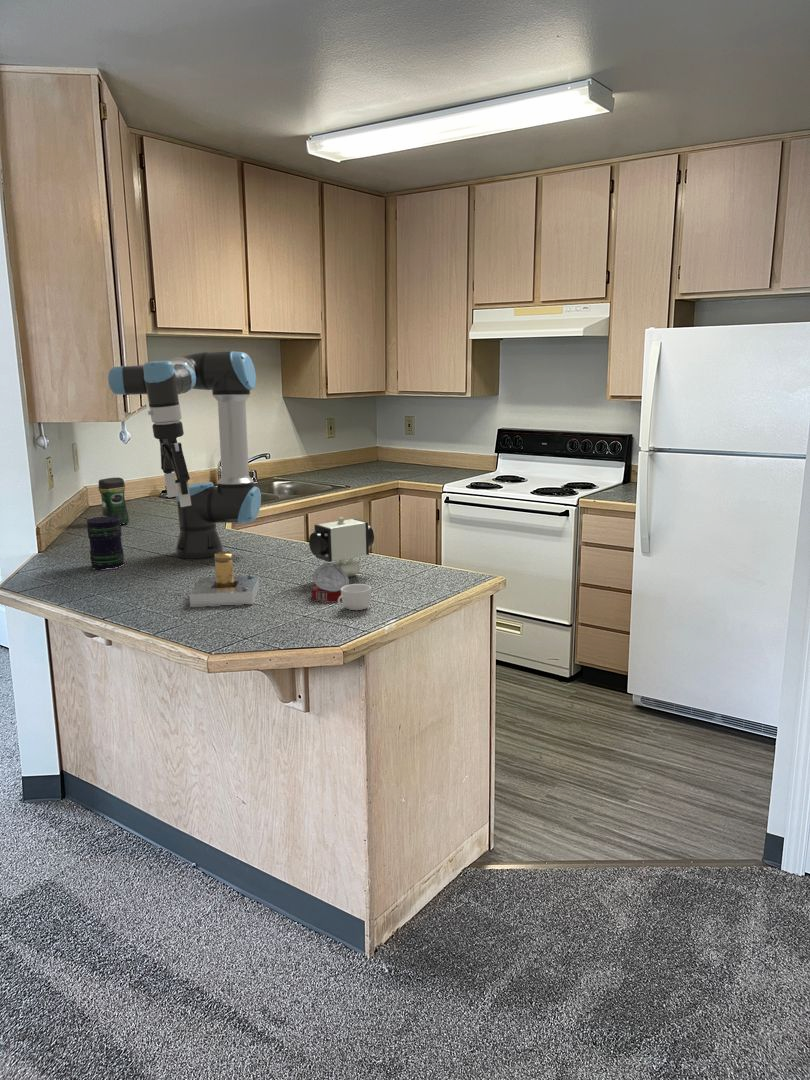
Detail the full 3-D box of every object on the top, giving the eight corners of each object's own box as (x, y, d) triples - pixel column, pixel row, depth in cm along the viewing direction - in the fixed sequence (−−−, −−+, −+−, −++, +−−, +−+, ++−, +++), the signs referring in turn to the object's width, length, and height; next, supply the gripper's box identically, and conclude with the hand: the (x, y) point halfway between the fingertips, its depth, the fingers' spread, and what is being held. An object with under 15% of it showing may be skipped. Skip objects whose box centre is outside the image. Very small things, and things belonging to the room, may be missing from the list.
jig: (201, 589, 222) (200, 575, 221) (259, 587, 223) (258, 573, 222) (190, 607, 206) (189, 592, 206) (252, 604, 208) (252, 589, 207)
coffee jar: (123, 521, 320) (118, 475, 316) (131, 524, 314) (127, 477, 310) (99, 525, 314) (94, 478, 310) (107, 528, 308) (102, 480, 304)
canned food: (345, 609, 218) (362, 577, 216) (334, 616, 209) (351, 584, 207) (310, 588, 220) (326, 557, 218) (297, 594, 210) (314, 562, 208)
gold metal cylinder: (218, 594, 217) (215, 551, 214) (235, 594, 217) (233, 551, 214) (216, 599, 212) (213, 556, 210) (233, 599, 213) (231, 555, 210)
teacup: (357, 602, 209) (357, 582, 207) (378, 607, 203) (377, 587, 202) (328, 610, 202) (327, 590, 200) (349, 617, 196) (348, 596, 195)
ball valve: (359, 569, 241) (357, 511, 237) (375, 574, 234) (374, 515, 230) (307, 579, 231) (304, 519, 227) (323, 586, 224) (320, 523, 220)
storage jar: (84, 568, 248) (79, 521, 245) (109, 561, 256) (104, 515, 253) (107, 571, 243) (102, 523, 240) (131, 564, 252) (127, 517, 249)
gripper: (141, 419, 216) (154, 495, 222) (163, 429, 195) (177, 513, 201) (169, 415, 219) (181, 490, 226) (194, 425, 198) (206, 507, 205)
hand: (179, 501), depth 214 cm, fingers open, 13 cm apart
